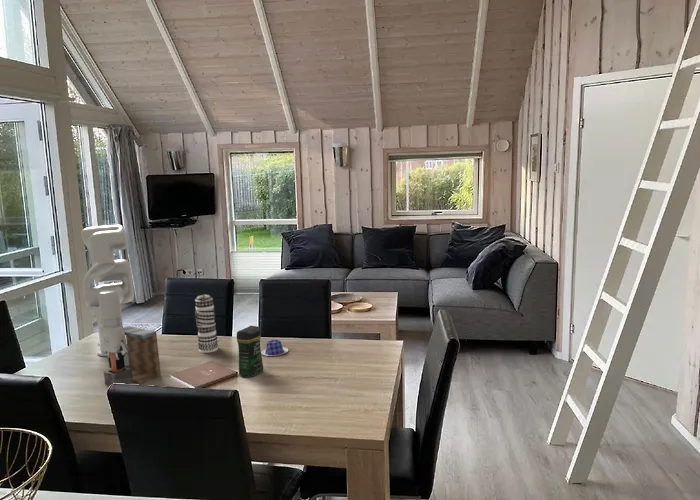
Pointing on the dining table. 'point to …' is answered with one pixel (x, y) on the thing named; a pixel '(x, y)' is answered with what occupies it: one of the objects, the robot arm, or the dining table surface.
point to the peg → (114, 363)
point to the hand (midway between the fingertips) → (117, 367)
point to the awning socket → (138, 358)
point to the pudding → (274, 348)
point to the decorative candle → (206, 324)
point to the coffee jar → (249, 351)
